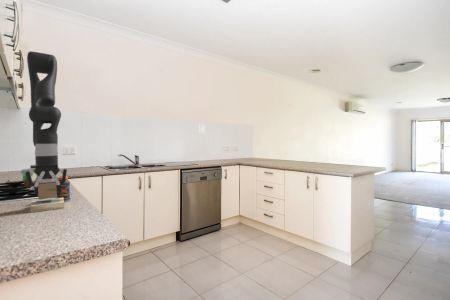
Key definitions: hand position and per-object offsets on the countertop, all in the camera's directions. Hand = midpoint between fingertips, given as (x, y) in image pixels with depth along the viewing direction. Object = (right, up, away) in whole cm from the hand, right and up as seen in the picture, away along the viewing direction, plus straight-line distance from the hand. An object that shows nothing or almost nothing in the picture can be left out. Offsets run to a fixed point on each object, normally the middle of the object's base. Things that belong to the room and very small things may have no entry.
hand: (47, 194), depth 101 cm
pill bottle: (-2, -5, +12) cm, 13 cm away
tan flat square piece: (0, -5, 0) cm, 5 cm away
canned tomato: (-56, -3, +66) cm, 87 cm away
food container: (-49, -4, +50) cm, 70 cm away
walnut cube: (0, -1, 0) cm, 1 cm away
